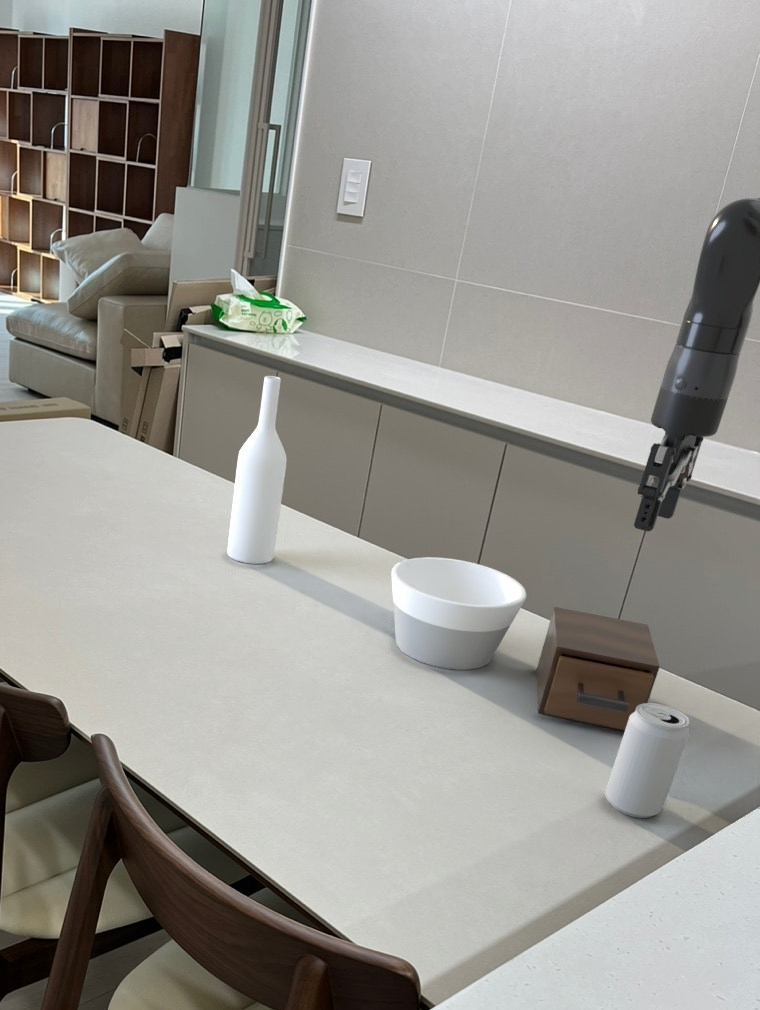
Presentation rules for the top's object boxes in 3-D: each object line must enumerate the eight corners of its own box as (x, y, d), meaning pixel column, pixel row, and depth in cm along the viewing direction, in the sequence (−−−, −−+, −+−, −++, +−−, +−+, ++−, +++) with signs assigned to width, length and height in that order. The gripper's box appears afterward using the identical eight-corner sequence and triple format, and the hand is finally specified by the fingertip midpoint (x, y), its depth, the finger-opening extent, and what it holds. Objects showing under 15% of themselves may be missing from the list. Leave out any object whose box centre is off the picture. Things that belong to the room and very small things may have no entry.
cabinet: (637, 733, 138) (660, 666, 134) (537, 713, 140) (556, 646, 136) (627, 687, 151) (648, 624, 146) (536, 669, 153) (554, 606, 149)
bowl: (474, 691, 144) (492, 619, 139) (354, 645, 154) (367, 575, 149) (529, 652, 158) (547, 585, 153) (416, 612, 168) (429, 547, 163)
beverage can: (643, 827, 118) (677, 734, 112) (592, 801, 122) (622, 709, 116) (670, 810, 122) (703, 718, 116) (619, 785, 126) (650, 695, 120)
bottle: (247, 567, 178) (270, 384, 164) (217, 551, 183) (237, 372, 169) (282, 560, 183) (308, 382, 168) (252, 545, 188) (274, 371, 174)
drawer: (639, 749, 132) (658, 693, 129) (544, 729, 134) (561, 673, 131) (626, 688, 148) (643, 637, 144) (542, 672, 150) (557, 621, 146)
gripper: (712, 402, 116) (667, 543, 124) (742, 389, 127) (698, 520, 134) (644, 387, 120) (604, 525, 127) (679, 377, 130) (640, 504, 138)
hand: (653, 522), depth 131 cm, fingers open, 8 cm apart
